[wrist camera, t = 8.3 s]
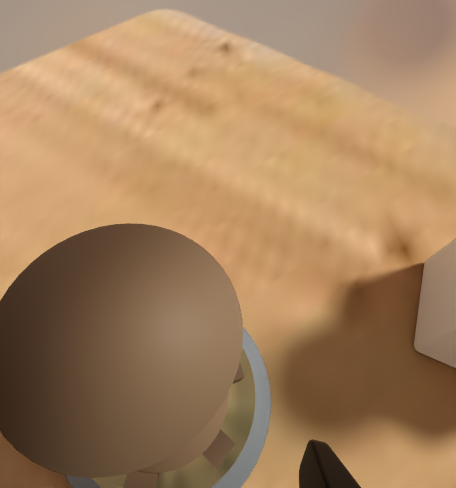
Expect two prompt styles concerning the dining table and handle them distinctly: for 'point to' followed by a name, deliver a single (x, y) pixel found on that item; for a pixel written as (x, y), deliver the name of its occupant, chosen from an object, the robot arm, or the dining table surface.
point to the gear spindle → (120, 355)
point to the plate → (250, 454)
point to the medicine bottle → (438, 307)
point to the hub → (234, 426)
